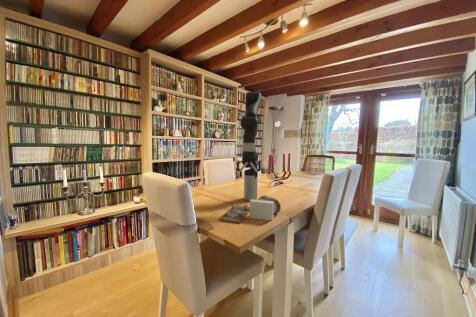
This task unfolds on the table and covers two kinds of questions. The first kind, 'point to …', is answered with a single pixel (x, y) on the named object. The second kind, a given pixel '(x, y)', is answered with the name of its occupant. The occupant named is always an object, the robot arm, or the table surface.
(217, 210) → the table surface
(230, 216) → the hinge panel
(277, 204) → the tin
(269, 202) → the cream rectangular box
